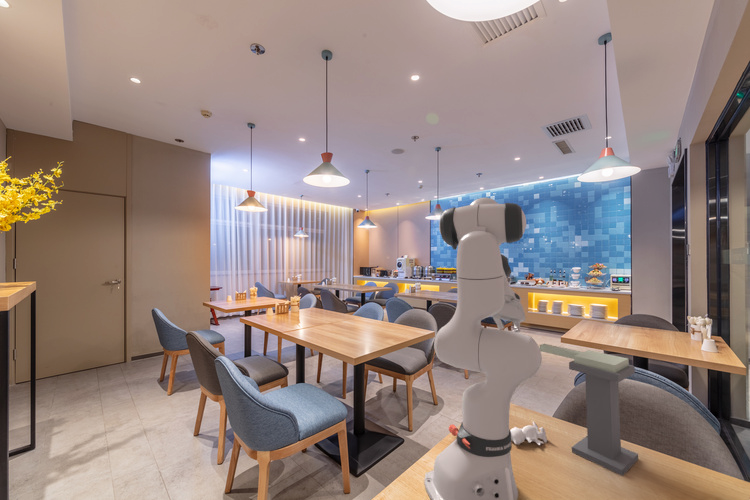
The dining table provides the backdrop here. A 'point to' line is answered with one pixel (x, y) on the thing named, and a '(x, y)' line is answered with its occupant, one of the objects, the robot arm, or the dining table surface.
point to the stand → (604, 419)
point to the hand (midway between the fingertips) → (509, 330)
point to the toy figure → (528, 434)
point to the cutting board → (589, 358)
